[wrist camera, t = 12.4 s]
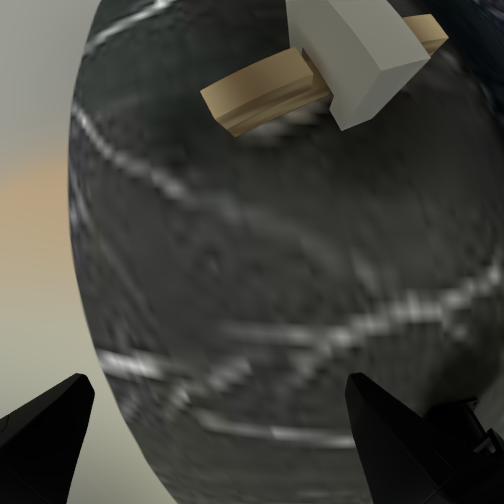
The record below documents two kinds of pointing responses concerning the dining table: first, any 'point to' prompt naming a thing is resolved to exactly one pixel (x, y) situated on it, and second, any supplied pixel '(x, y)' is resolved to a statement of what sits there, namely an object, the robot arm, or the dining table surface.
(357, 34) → the grey tapered block
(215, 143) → the dining table surface
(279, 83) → the notched base plate
